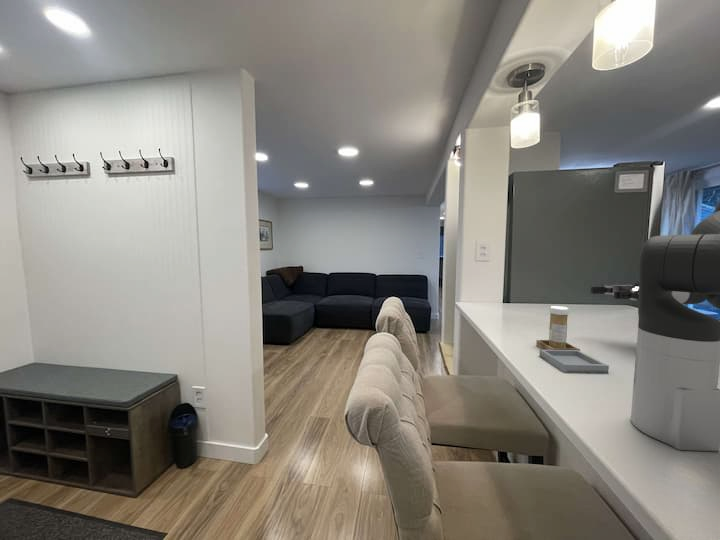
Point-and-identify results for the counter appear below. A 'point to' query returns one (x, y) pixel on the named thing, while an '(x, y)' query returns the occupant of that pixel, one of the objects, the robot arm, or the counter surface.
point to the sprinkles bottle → (558, 326)
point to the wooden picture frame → (545, 346)
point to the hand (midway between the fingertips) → (602, 292)
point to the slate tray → (573, 361)
